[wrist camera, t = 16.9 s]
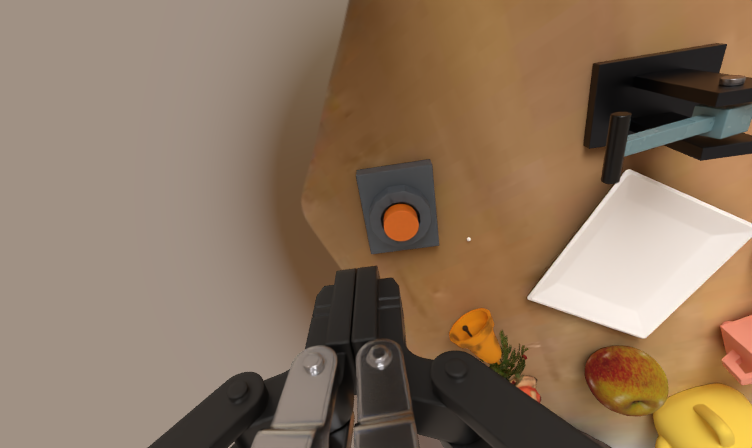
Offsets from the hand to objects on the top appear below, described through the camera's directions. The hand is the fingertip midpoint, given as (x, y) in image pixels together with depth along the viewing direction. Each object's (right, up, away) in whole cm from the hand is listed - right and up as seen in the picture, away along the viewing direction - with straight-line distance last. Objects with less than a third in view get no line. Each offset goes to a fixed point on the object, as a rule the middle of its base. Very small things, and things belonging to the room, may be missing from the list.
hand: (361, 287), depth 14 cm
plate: (+32, -2, +31) cm, 45 cm away
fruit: (+34, -17, +40) cm, 55 cm away
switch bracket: (+27, +15, +22) cm, 38 cm away
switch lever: (+22, +10, +15) cm, 28 cm away
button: (+3, +3, +25) cm, 26 cm away
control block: (+3, +4, +28) cm, 29 cm away
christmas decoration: (+13, -9, +36) cm, 39 cm away
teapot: (+51, -26, +45) cm, 73 cm away
